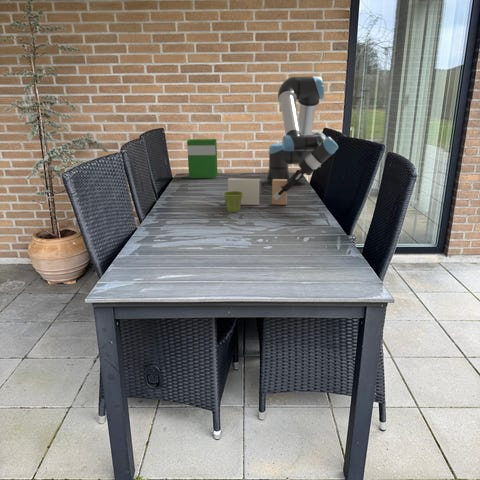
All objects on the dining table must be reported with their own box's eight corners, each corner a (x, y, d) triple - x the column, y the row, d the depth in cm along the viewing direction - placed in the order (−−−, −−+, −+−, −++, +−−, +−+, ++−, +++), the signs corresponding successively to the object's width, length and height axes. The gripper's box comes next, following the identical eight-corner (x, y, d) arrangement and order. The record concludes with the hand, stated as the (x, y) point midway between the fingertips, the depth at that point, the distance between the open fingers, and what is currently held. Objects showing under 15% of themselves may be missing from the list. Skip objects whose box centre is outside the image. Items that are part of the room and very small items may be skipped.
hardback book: (217, 176, 294) (216, 139, 287) (216, 178, 287) (214, 140, 280) (191, 176, 296) (189, 139, 288) (189, 178, 289) (186, 140, 281)
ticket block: (229, 202, 229) (229, 178, 225) (261, 203, 226) (261, 178, 222) (228, 204, 226) (227, 179, 222) (260, 204, 223) (260, 180, 219)
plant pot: (220, 212, 212) (219, 194, 209) (229, 207, 220) (229, 190, 217) (237, 214, 208) (237, 196, 205) (246, 209, 216) (246, 192, 213)
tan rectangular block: (272, 202, 225) (273, 179, 221) (286, 203, 224) (287, 179, 220) (272, 204, 222) (272, 180, 218) (286, 204, 221) (286, 180, 217)
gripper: (314, 173, 207) (278, 207, 215) (315, 167, 222) (281, 198, 230) (303, 161, 206) (267, 196, 214) (304, 156, 221) (271, 188, 230)
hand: (274, 197), depth 222 cm, fingers open, 3 cm apart
